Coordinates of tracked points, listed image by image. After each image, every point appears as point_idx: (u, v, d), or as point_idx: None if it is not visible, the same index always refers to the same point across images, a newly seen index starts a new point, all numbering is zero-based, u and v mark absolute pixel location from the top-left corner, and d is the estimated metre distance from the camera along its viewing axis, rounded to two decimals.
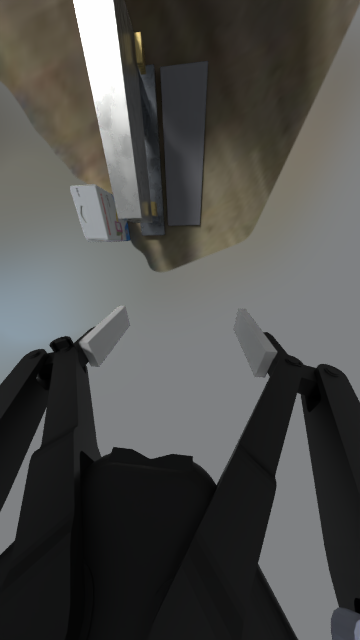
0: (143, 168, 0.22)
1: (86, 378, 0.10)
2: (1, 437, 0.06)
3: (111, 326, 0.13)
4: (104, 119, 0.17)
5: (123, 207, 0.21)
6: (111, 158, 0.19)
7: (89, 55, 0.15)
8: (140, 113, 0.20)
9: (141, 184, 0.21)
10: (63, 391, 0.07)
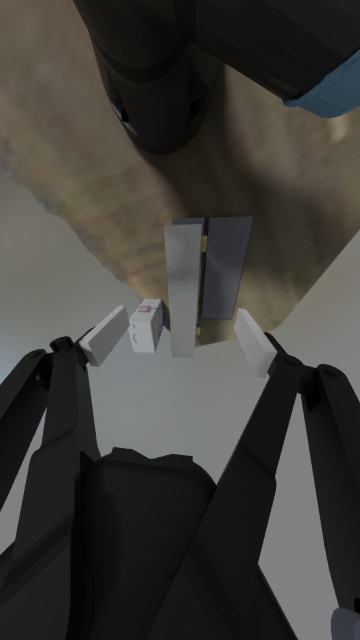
0: None
1: (86, 378, 0.10)
2: (1, 437, 0.06)
3: (111, 326, 0.13)
4: (175, 308, 0.20)
5: (179, 351, 0.24)
6: (175, 327, 0.21)
7: (171, 278, 0.17)
8: None
9: None
10: (63, 391, 0.07)
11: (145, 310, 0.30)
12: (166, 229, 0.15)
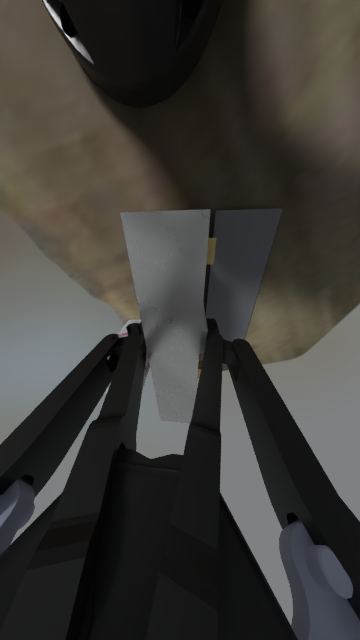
0: None
1: (143, 364, 0.11)
2: (70, 408, 0.07)
3: None
4: (159, 365, 0.11)
5: (170, 415, 0.15)
6: (162, 388, 0.13)
7: (149, 321, 0.09)
8: None
9: None
10: (124, 373, 0.08)
11: None
12: (127, 223, 0.06)
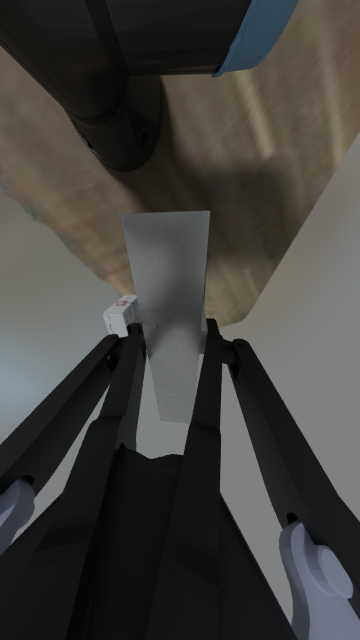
0: None
1: (143, 364, 0.11)
2: (70, 408, 0.07)
3: None
4: (159, 365, 0.11)
5: (170, 415, 0.15)
6: (162, 388, 0.13)
7: (149, 321, 0.09)
8: None
9: None
10: (124, 373, 0.08)
11: (121, 304, 0.34)
12: (127, 224, 0.06)
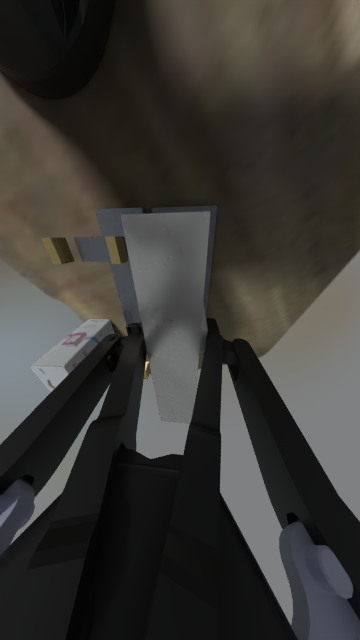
0: None
1: (143, 364, 0.11)
2: (70, 408, 0.07)
3: None
4: (159, 366, 0.11)
5: (170, 416, 0.15)
6: (162, 389, 0.13)
7: (149, 322, 0.09)
8: None
9: None
10: (124, 373, 0.08)
11: (73, 341, 0.21)
12: (127, 224, 0.06)
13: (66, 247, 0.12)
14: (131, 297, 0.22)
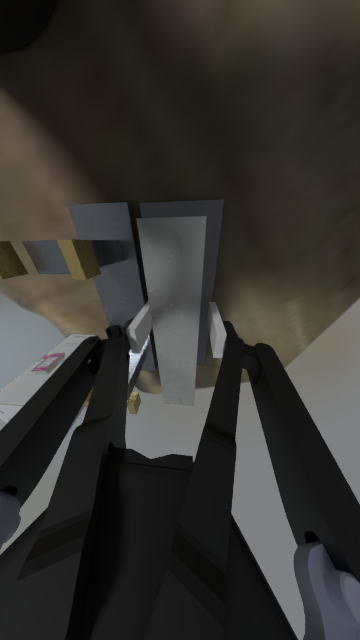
0: None
1: (127, 366, 0.11)
2: (52, 413, 0.07)
3: (146, 318, 0.14)
4: (164, 348, 0.13)
5: (172, 398, 0.17)
6: (166, 370, 0.14)
7: (156, 307, 0.11)
8: None
9: None
10: (107, 376, 0.08)
11: (47, 365, 0.17)
12: (141, 226, 0.08)
13: (12, 254, 0.09)
14: (119, 311, 0.19)
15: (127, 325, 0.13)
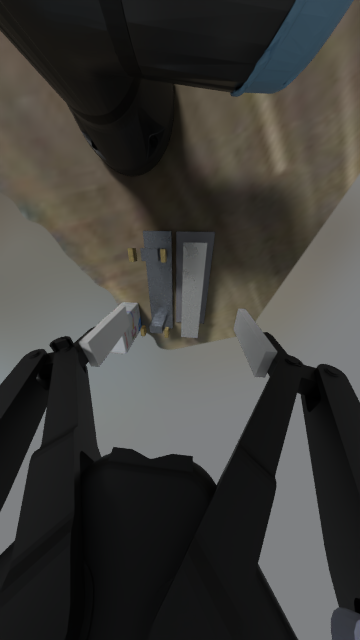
0: None
1: (86, 378, 0.10)
2: (1, 437, 0.06)
3: (111, 326, 0.13)
4: (186, 298, 0.28)
5: (186, 332, 0.32)
6: (185, 312, 0.29)
7: (185, 277, 0.25)
8: None
9: None
10: (63, 391, 0.07)
11: None
12: (184, 245, 0.23)
13: (135, 253, 0.23)
14: (157, 286, 0.34)
15: None
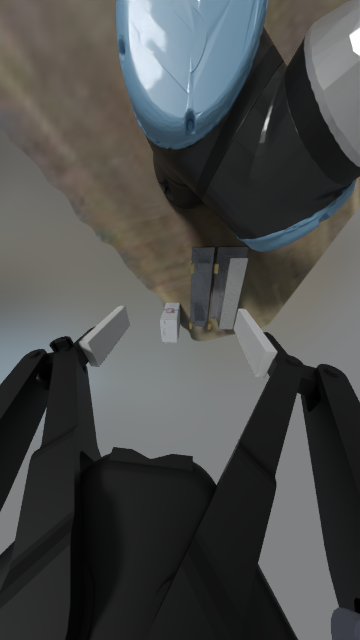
0: None
1: (86, 378, 0.10)
2: (1, 437, 0.06)
3: (111, 326, 0.13)
4: (227, 298, 0.36)
5: (223, 325, 0.40)
6: (225, 309, 0.38)
7: (228, 282, 0.34)
8: None
9: None
10: (63, 391, 0.07)
11: (170, 311, 0.40)
12: (231, 260, 0.31)
13: None
14: (198, 289, 0.42)
15: None
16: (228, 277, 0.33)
